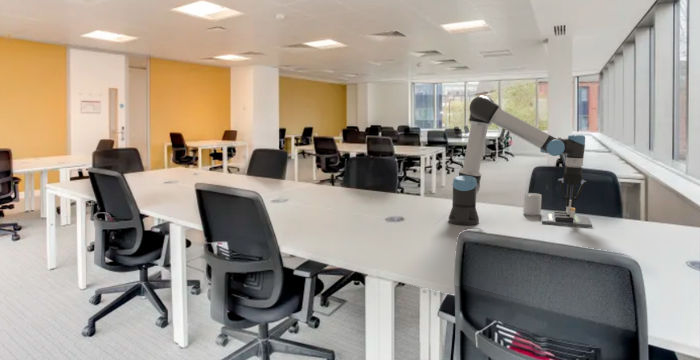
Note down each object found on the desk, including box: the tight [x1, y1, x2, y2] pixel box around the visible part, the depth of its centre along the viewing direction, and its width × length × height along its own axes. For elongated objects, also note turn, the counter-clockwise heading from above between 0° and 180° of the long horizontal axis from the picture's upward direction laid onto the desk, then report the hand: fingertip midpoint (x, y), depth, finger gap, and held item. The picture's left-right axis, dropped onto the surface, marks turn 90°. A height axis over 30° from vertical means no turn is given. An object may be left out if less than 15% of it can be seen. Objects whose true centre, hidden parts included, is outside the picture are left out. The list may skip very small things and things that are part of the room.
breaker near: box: [570, 207, 576, 218], centre depth 207 cm, size 2×3×4 cm
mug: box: [522, 192, 542, 216], centre depth 232 cm, size 12×9×11 cm
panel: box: [541, 210, 593, 229], centre depth 213 cm, size 22×18×4 cm
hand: (569, 213), depth 208 cm, fingers closed
